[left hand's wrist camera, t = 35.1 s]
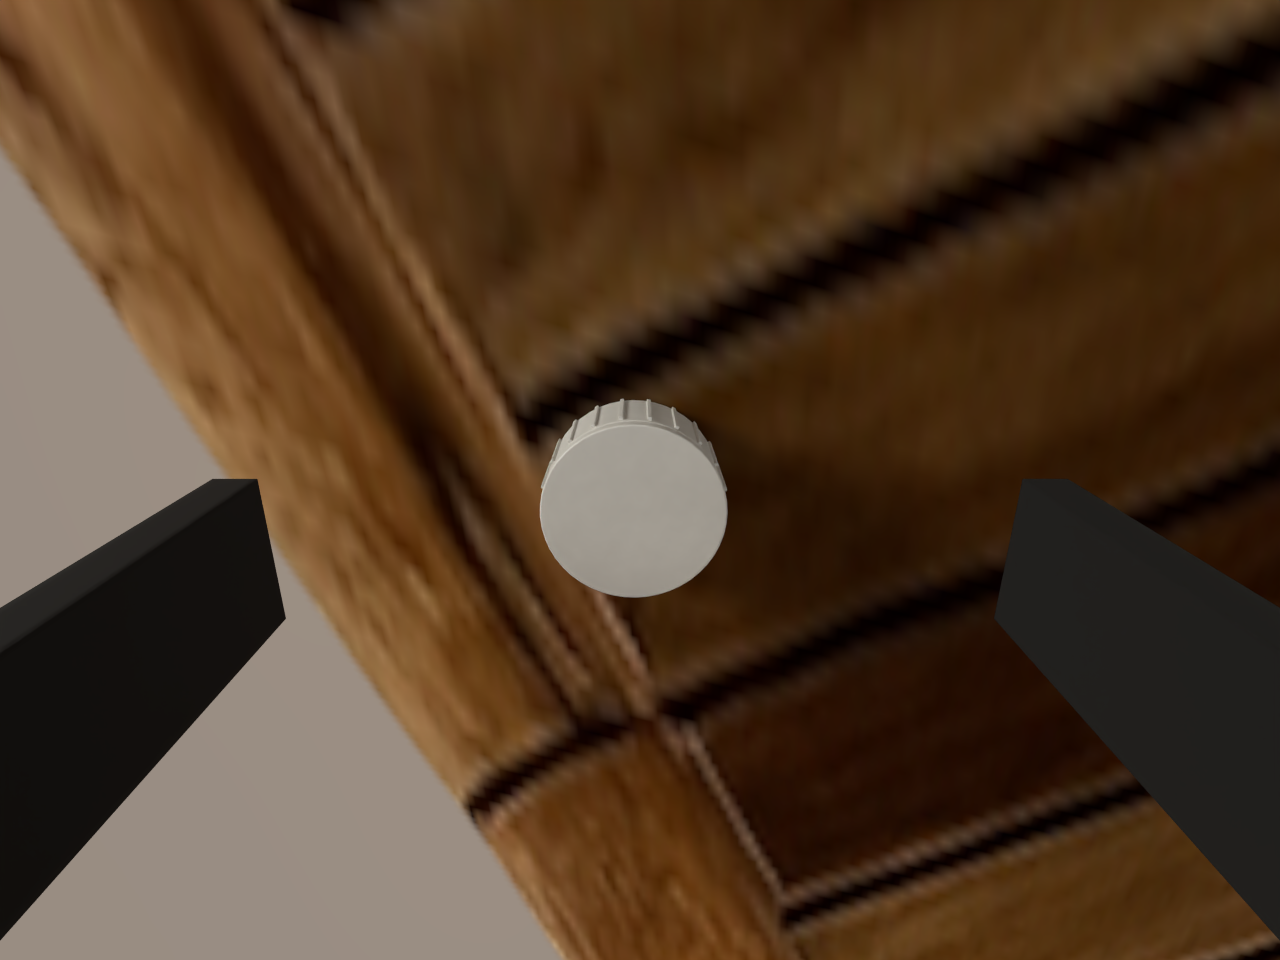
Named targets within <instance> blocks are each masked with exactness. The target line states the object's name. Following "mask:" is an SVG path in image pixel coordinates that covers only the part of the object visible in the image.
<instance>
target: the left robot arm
mask: <svg viewBox="0 0 1280 960" xmlns="http://www.w3.org/2000/svg"><path fill="white" fill-rule="evenodd" d="M285 619H286V617H285V612H284V607H283V602H282V597H281V593H280V588H279V583H278V578H277V573H276V568H275V563H274V558H273V553H272V549H271V544H270V539H269V534H268V529H267V524H266V519H265V514H264V509H263V505H262V500H261V495H260V490H259V485H258V480H257V479H212V480H210V481H209V482H207V483H205V484H204V485H202V486H200V487H199V488H197V489H195V490H194V491H192V492H190V493H189V494H187V495H185V496H184V497H182V498H181V499H179V500H177V501H176V502H174V503H172V504H171V505H169V506H167V507H166V508H164V509H162V510H161V511H159V512H157V513H156V514H154V515H152V516H151V517H149V518H148V519H146V520H144V521H143V522H141V523H139V524H138V525H136V526H134V527H133V528H131V529H129V530H128V531H126V532H125V533H123V534H121V535H120V536H118V537H116V538H115V539H113V540H111V541H110V542H108V543H106V544H105V545H103V546H101V547H100V548H98V549H97V550H95V551H93V552H92V553H90V554H88V555H87V556H85V557H83V558H82V559H80V560H78V561H77V562H75V563H73V564H72V565H70V566H69V567H67V568H65V569H64V570H62V571H60V572H59V573H57V574H55V575H54V576H52V577H50V578H49V579H47V580H46V581H44V582H42V583H40V584H39V585H37V586H36V587H34V588H32V589H31V590H29V591H27V592H26V593H24V594H22V595H21V596H19V597H17V598H16V599H14V600H12V601H11V602H9V603H8V604H6V605H4V606H3V607H1V608H0V940H1V939H2V938H3V937H4V936H5V934H6V933H7V932H8V931H9V930H10V929H11V928H12V927H13V925H14V924H15V923H16V922H17V921H18V920H19V919H20V918H21V916H22V915H23V914H24V913H25V912H26V911H27V910H28V909H29V907H30V906H31V905H32V904H33V903H34V902H35V901H36V900H37V898H38V897H39V896H40V895H41V894H42V893H43V892H44V890H45V889H46V888H47V887H48V886H49V885H50V884H51V883H52V881H53V880H54V879H55V878H56V877H57V876H58V875H59V874H60V872H61V871H62V870H63V869H64V868H65V867H66V866H67V865H68V863H69V862H70V861H71V860H72V859H73V858H74V857H75V856H76V854H77V853H78V852H79V851H80V850H81V849H82V848H83V846H84V845H85V844H86V843H87V842H88V841H89V840H90V839H91V838H92V836H93V835H94V834H95V833H96V832H97V831H98V830H99V828H100V827H101V826H102V825H103V824H104V823H105V822H106V821H107V819H108V818H109V817H110V816H111V815H112V814H113V813H114V812H115V811H116V809H117V808H118V807H119V806H120V805H121V804H122V803H123V801H124V800H125V799H126V798H127V797H128V796H129V795H130V794H131V792H132V791H133V790H134V789H135V788H136V787H137V786H138V785H139V783H140V782H141V781H142V780H143V779H144V778H145V777H146V776H147V774H148V773H149V772H150V771H151V770H152V769H153V768H154V767H155V765H156V764H157V763H158V762H159V761H160V760H161V759H162V757H163V756H164V755H165V754H166V753H167V752H168V751H169V750H170V748H171V747H172V746H173V745H174V744H175V743H176V742H177V741H178V740H179V738H180V737H181V736H182V735H183V734H184V733H185V732H186V731H187V729H188V728H189V727H190V726H191V725H192V724H193V723H194V721H195V720H196V719H197V718H198V717H199V716H200V715H201V714H202V712H203V711H204V710H205V709H206V708H207V707H208V706H209V705H210V703H211V702H212V701H213V700H214V699H215V698H216V697H217V696H218V694H219V693H220V692H221V691H222V690H223V689H224V688H225V687H226V685H227V684H228V683H229V682H230V681H231V680H232V679H233V677H234V676H235V675H236V674H237V673H238V672H239V671H240V670H241V669H242V667H243V666H244V665H245V664H246V663H247V662H248V661H249V660H250V658H251V657H252V656H253V655H254V654H255V653H256V652H257V651H258V649H259V648H260V647H261V646H262V645H263V644H264V643H265V641H266V640H267V639H268V638H269V637H270V636H271V635H272V634H273V632H274V631H275V630H276V629H277V628H278V627H279V626H280V625H281V623H282V622H283V621H284V620H285ZM994 619H995V620H996V621H997V622H998V623H999V625H1000V626H1001V627H1002V628H1003V629H1004V630H1005V631H1006V632H1007V634H1008V635H1009V636H1010V637H1011V638H1012V639H1013V640H1014V641H1015V643H1016V644H1017V645H1018V646H1019V647H1020V648H1021V649H1022V650H1023V652H1024V653H1025V654H1026V655H1027V656H1028V657H1029V658H1030V660H1031V661H1032V662H1033V663H1034V664H1035V665H1036V666H1037V667H1038V669H1039V670H1040V671H1041V672H1042V673H1043V674H1044V675H1045V676H1046V678H1047V679H1048V680H1049V681H1050V682H1051V683H1052V684H1053V685H1054V687H1055V688H1056V689H1057V690H1058V691H1059V692H1060V693H1061V694H1062V696H1063V697H1064V698H1065V699H1066V700H1067V701H1068V702H1069V703H1070V705H1071V706H1072V707H1073V708H1074V709H1075V710H1076V711H1077V712H1078V714H1079V715H1080V716H1081V717H1082V718H1083V719H1084V720H1085V721H1086V723H1087V724H1088V725H1089V726H1090V727H1091V728H1092V729H1093V731H1094V732H1095V733H1096V734H1097V735H1098V736H1099V737H1100V738H1101V740H1102V741H1103V742H1104V743H1105V744H1106V745H1107V746H1108V747H1109V749H1110V750H1111V751H1112V752H1113V753H1114V754H1115V755H1116V756H1117V758H1118V759H1119V760H1120V761H1121V762H1122V763H1123V764H1124V765H1125V767H1126V768H1127V769H1128V770H1129V771H1130V772H1131V773H1132V774H1133V776H1134V777H1135V778H1136V779H1137V780H1138V781H1139V782H1140V783H1141V785H1142V786H1143V787H1144V788H1145V789H1146V790H1147V791H1148V792H1149V794H1150V795H1151V796H1152V797H1153V798H1154V799H1155V800H1156V801H1157V803H1158V804H1159V805H1160V806H1161V807H1162V808H1163V809H1164V811H1165V812H1166V813H1167V814H1168V815H1169V816H1170V817H1171V818H1172V820H1173V821H1174V822H1175V823H1176V824H1177V825H1178V826H1179V827H1180V829H1181V830H1182V831H1183V832H1184V833H1185V834H1186V835H1187V836H1188V838H1189V839H1190V840H1191V841H1192V842H1193V843H1194V844H1195V845H1196V847H1197V848H1198V849H1199V850H1200V851H1201V852H1202V853H1203V854H1204V856H1205V857H1206V858H1207V859H1208V860H1209V861H1210V862H1211V863H1212V865H1213V866H1214V867H1215V868H1216V869H1217V870H1218V871H1219V872H1220V874H1221V875H1222V876H1223V877H1224V878H1225V879H1226V880H1227V882H1228V883H1229V884H1230V885H1231V886H1232V887H1233V888H1234V889H1235V891H1236V892H1237V893H1238V894H1239V895H1240V896H1241V897H1242V898H1243V900H1244V901H1245V902H1246V903H1247V904H1248V905H1249V906H1250V907H1251V909H1252V910H1253V911H1254V912H1255V913H1256V914H1257V915H1258V916H1259V918H1260V919H1261V920H1262V921H1263V922H1264V923H1265V924H1266V925H1267V927H1268V928H1269V929H1270V930H1271V931H1272V932H1273V933H1274V934H1275V936H1276V937H1277V938H1278V939H1279V940H1280V608H1279V607H1277V606H1276V605H1274V604H1272V603H1271V602H1269V601H1268V600H1266V599H1264V598H1263V597H1261V596H1259V595H1258V594H1256V593H1254V592H1253V591H1251V590H1249V589H1248V588H1246V587H1244V586H1243V585H1241V584H1240V583H1238V582H1236V581H1235V580H1233V579H1231V578H1230V577H1228V576H1226V575H1225V574H1223V573H1221V572H1220V571H1218V570H1216V569H1215V568H1213V567H1212V566H1210V565H1208V564H1207V563H1205V562H1203V561H1202V560H1200V559H1198V558H1197V557H1195V556H1193V555H1192V554H1190V553H1188V552H1187V551H1185V550H1184V549H1182V548H1180V547H1179V546H1177V545H1175V544H1174V543H1172V542H1170V541H1169V540H1167V539H1165V538H1164V537H1162V536H1160V535H1159V534H1157V533H1156V532H1154V531H1152V530H1151V529H1149V528H1147V527H1146V526H1144V525H1142V524H1141V523H1139V522H1137V521H1136V520H1134V519H1132V518H1131V517H1129V516H1128V515H1126V514H1124V513H1123V512H1121V511H1119V510H1118V509H1116V508H1114V507H1113V506H1111V505H1109V504H1108V503H1106V502H1104V501H1103V500H1101V499H1100V498H1098V497H1096V496H1095V495H1093V494H1091V493H1090V492H1088V491H1086V490H1085V489H1083V488H1081V487H1080V486H1078V485H1076V484H1075V483H1073V482H1072V481H1070V480H1068V479H1023V480H1022V485H1021V490H1020V495H1019V500H1018V505H1017V509H1016V514H1015V519H1014V524H1013V529H1012V534H1011V539H1010V544H1009V549H1008V553H1007V558H1006V563H1005V568H1004V573H1003V578H1002V583H1001V588H1000V593H999V597H998V602H997V607H996V612H995V617H994Z"/></svg>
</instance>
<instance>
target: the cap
mask: <svg viewBox="0 0 1280 960" xmlns="http://www.w3.org/2000/svg"><path fill="white" fill-rule="evenodd" d="M541 488H543V491H542V495H541V502H540V519H541V526H542V530H543V534H544V537H545V540H546V542H547V544H548V547H549V549H550V550H551V552H552V554H553V555H554V557H555V558H556V560H557V561H558V562H559V563H560V565H561V566H562V567H563V568H564V569H565V570H566V571H567V572H568V573H569V574H570V575H571V576H573V577H574V578H576V579H577V580H578V581H580V582H581V583H583V584H585V585H587V586H588V587H590V588H593V589H595V590H597V591H600V592H603V593H606V594H610V595H614V596H621V597H648V596H653V595H658V594H661V593H665V592H668V591H671V590H673V589H675V588H677V587H679V586H681V585H683V584H685V583H686V582H688V581H689V580H691V579H692V578H693V577H695V576H696V575H697V574H698V573H700V572H701V571H702V570H703V568H704V567H705V566H706V565H707V564H708V563H709V562H710V560H711V559H712V558H713V556H714V555H715V553H716V551H717V550H718V548H719V546H720V544H721V541H722V539H723V536H724V532H725V528H726V524H727V514H728V511H727V499H726V493H725V491H727V487H726V484H725V481H724V479H723V476H722V473H721V470H720V467H719V464H718V462H717V459H716V456H715V453H714V450H713V447H712V444H711V442H710V441H709V442H707V440H706V439H705V437H704V436H703V434H702V433H701V431H700V430H699V429H698V427H697V423H696V422H695V421H694V422H693V423H692V422H691V421H690V420H688V419H687V418H686V417H685V416H683V415H682V414H680V413H679V412H677V411H676V408H674V407H672V408H669V407H667V406H664V405H661V404H657V403H654V402H651V400H649V399H647V401H639V400H628V401H624V399H620V401H619V402H615V403H610V404H607V405H604V406H602V407H599V406H596V407H595V409H594V410H593V411H591V412H589V413H588V414H586V415H585V416H583V417H582V418H580V419H579V420H578V421H577V420H575V421H574V422H573V425H572V427H571V428H570V429H569V430H568V432H567V433H566V434H565V436H564V437H563V439H559V440H558V442H557V445H556V448H555V451H554V454H553V456H552V459H551V461H550V463H549V466H548V468H547V471H546V474H545V477H544V479H543V482H542V485H541Z"/></svg>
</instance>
